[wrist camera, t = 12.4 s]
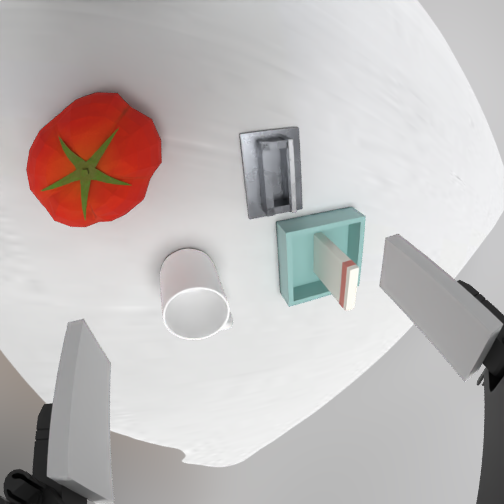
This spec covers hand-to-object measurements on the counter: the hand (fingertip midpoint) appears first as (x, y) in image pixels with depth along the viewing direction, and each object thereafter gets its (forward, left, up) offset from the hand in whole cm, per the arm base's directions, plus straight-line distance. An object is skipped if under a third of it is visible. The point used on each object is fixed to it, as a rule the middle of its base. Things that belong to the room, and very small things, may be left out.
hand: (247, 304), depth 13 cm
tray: (+18, +18, -30) cm, 40 cm away
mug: (+18, -2, -31) cm, 36 cm away
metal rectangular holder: (+4, +11, -30) cm, 33 cm away
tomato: (-3, -11, -31) cm, 33 cm away
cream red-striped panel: (+18, +18, -30) cm, 39 cm away
